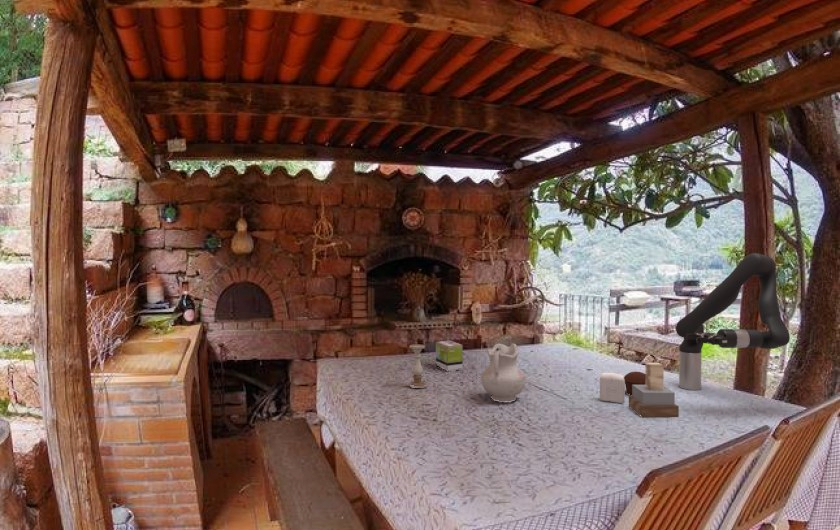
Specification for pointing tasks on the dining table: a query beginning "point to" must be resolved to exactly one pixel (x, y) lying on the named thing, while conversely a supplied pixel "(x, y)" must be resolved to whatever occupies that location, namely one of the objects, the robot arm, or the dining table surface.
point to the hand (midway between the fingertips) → (691, 338)
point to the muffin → (634, 380)
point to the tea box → (449, 355)
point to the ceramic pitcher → (503, 373)
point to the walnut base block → (653, 409)
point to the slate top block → (653, 395)
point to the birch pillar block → (654, 376)
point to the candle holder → (417, 365)
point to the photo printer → (612, 387)
